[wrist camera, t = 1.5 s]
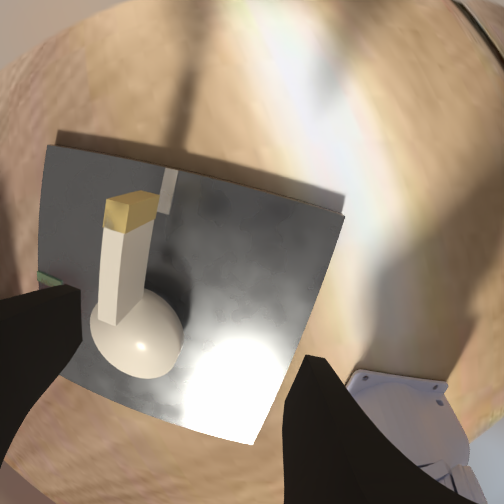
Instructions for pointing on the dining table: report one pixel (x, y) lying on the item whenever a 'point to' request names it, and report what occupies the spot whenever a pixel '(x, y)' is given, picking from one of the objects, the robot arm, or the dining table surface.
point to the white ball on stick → (132, 293)
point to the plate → (192, 283)
